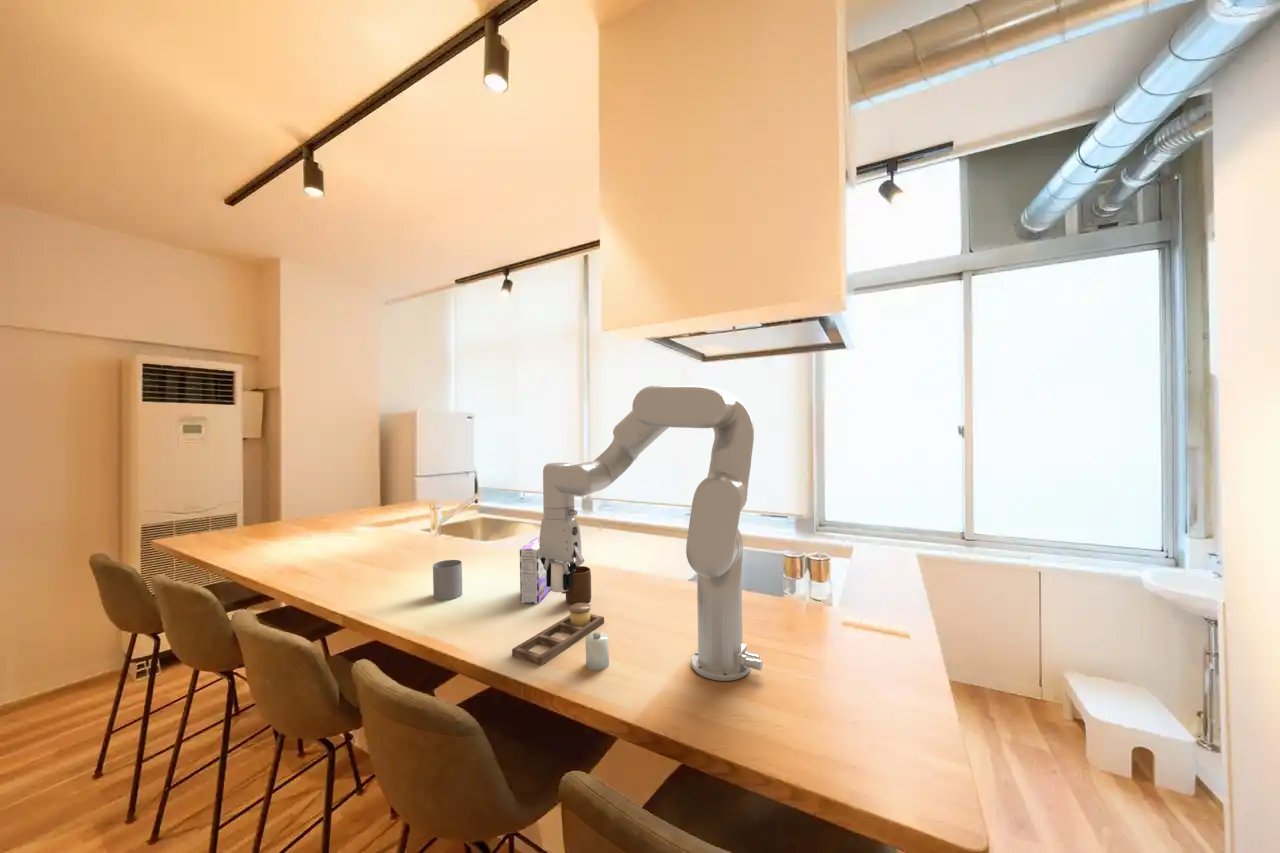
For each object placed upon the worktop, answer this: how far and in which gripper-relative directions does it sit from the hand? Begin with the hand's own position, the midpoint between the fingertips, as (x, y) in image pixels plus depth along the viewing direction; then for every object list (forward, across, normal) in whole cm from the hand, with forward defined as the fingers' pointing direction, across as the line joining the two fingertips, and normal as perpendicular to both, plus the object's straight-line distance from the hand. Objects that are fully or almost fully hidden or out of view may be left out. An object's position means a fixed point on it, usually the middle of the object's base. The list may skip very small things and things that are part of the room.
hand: (559, 586), depth 115 cm
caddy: (+13, 0, 0) cm, 13 cm away
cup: (+14, +50, -6) cm, 52 cm away
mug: (+13, +11, -19) cm, 26 cm away
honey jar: (+13, 0, -8) cm, 15 cm away
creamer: (+1, 0, 0) cm, 1 cm away
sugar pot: (+13, -15, +6) cm, 21 cm away
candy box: (+13, +25, -19) cm, 34 cm away
